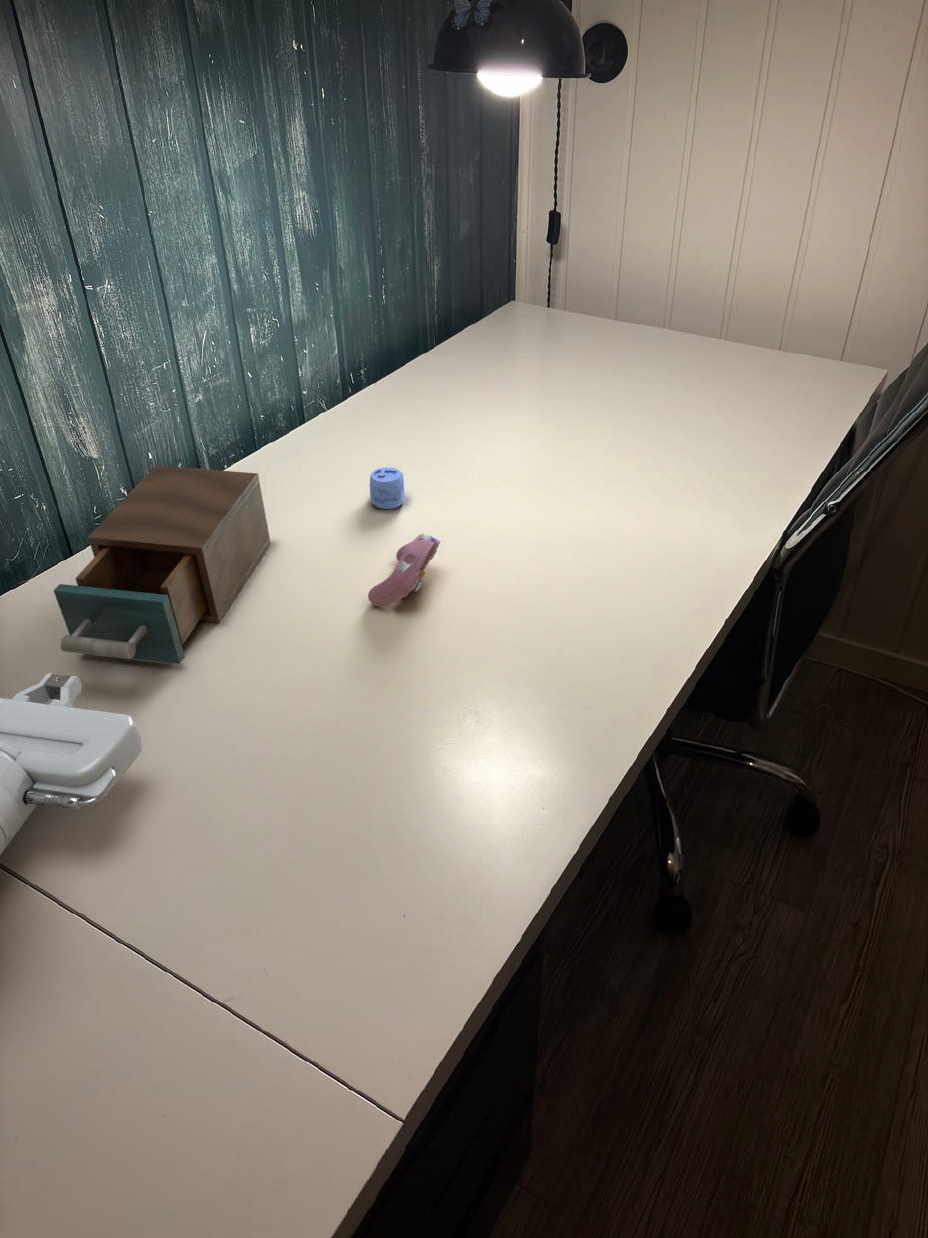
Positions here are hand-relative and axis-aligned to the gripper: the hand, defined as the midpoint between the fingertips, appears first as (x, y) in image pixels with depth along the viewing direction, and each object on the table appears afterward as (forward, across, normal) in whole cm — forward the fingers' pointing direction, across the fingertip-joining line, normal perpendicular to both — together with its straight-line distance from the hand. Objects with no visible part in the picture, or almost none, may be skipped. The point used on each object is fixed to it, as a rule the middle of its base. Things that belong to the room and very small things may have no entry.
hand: (66, 679), depth 84 cm
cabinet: (+25, 0, +6) cm, 26 cm away
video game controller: (+27, -25, +6) cm, 37 cm away
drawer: (+14, 0, +5) cm, 15 cm away
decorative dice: (+45, -18, +6) cm, 49 cm away
